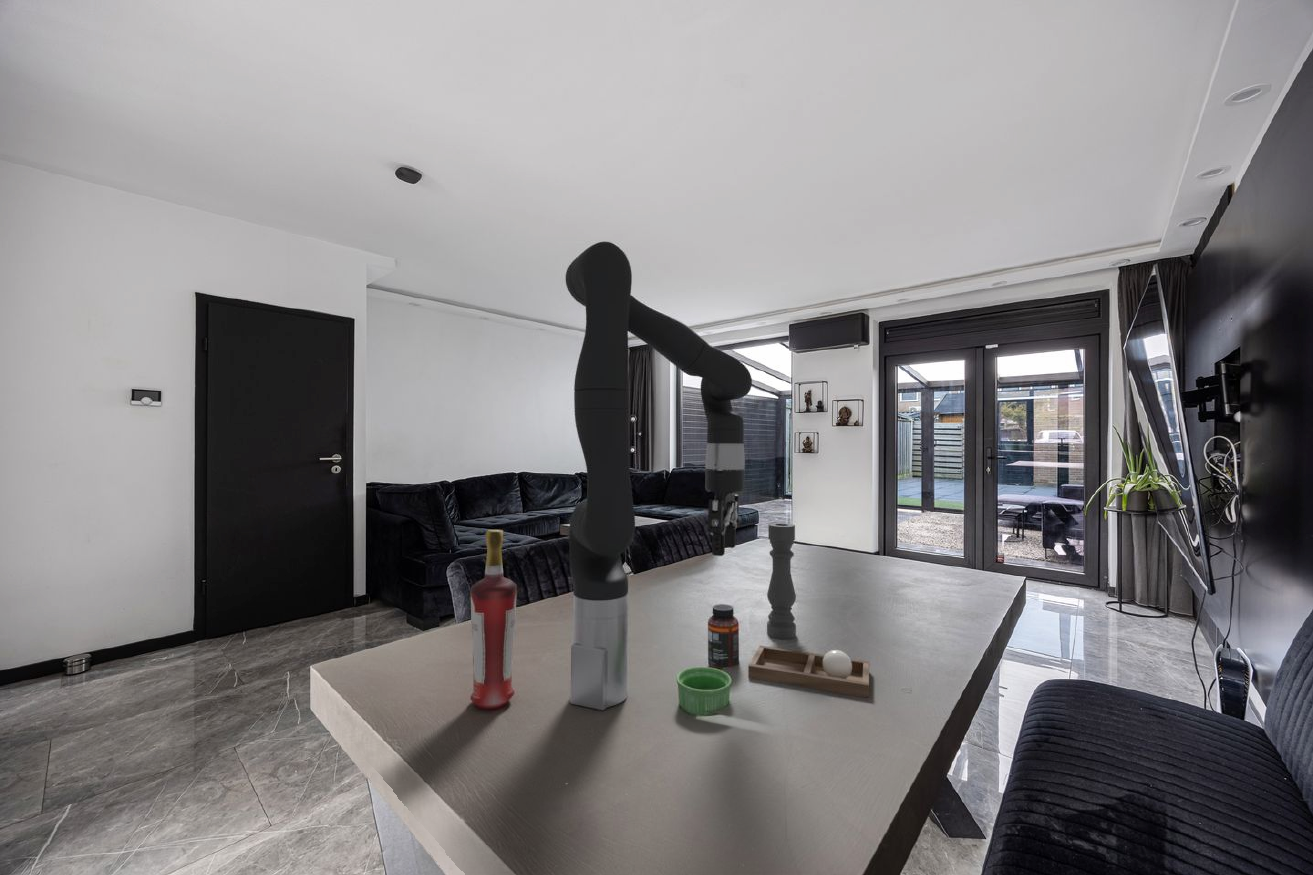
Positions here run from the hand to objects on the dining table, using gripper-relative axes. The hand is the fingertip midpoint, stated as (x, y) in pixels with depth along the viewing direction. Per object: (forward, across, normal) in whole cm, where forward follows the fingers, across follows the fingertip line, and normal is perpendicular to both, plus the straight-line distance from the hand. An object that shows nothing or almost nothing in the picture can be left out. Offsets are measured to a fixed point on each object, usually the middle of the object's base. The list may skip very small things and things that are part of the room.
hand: (724, 551), depth 103 cm
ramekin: (+22, +16, +1) cm, 28 cm away
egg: (+21, 0, +21) cm, 29 cm away
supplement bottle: (+22, 0, 0) cm, 22 cm away
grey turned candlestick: (+22, -19, +8) cm, 30 cm away
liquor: (+22, +29, -31) cm, 48 cm away
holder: (+22, 0, +16) cm, 27 cm away
